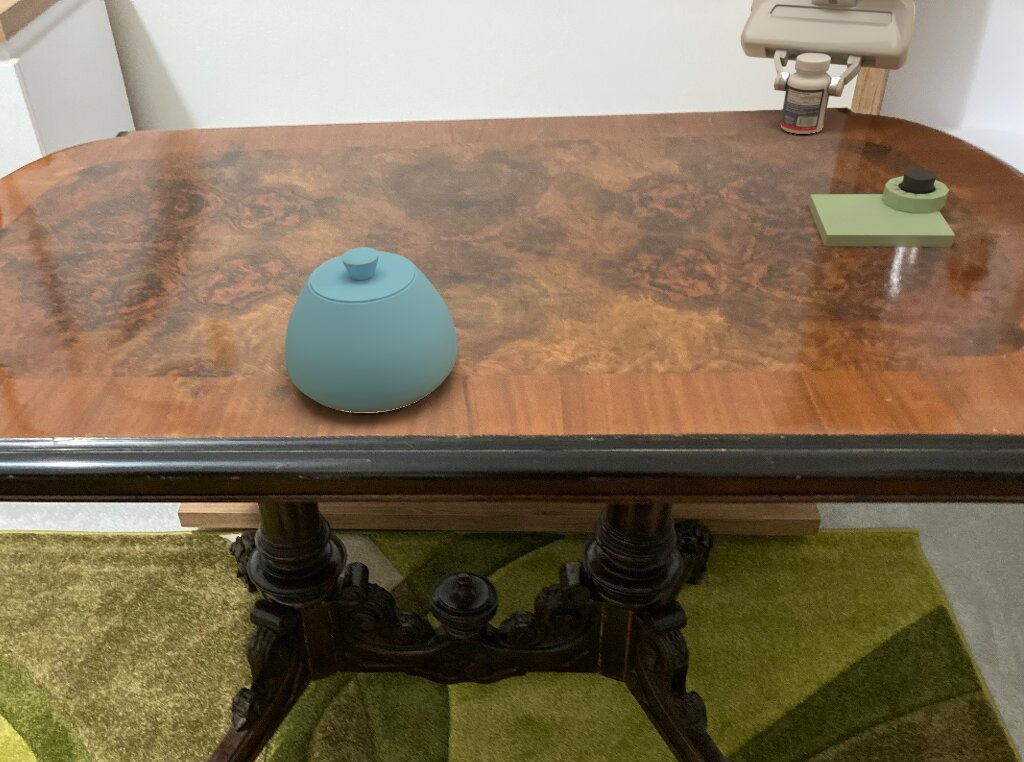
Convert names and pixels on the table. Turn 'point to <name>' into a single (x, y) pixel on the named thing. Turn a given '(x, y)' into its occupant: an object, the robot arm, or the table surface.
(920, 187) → the button
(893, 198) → the scale
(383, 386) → the sugar bowl
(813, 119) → the pill bottle
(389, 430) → the table surface
